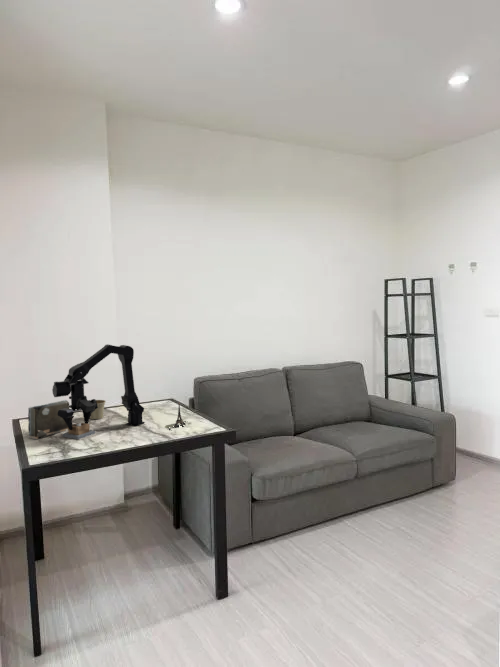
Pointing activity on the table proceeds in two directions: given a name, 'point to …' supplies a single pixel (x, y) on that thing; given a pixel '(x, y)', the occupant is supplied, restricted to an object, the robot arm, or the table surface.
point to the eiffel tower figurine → (177, 421)
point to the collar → (79, 429)
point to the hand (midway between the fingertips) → (78, 427)
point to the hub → (78, 435)
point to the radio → (46, 419)
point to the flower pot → (98, 410)
